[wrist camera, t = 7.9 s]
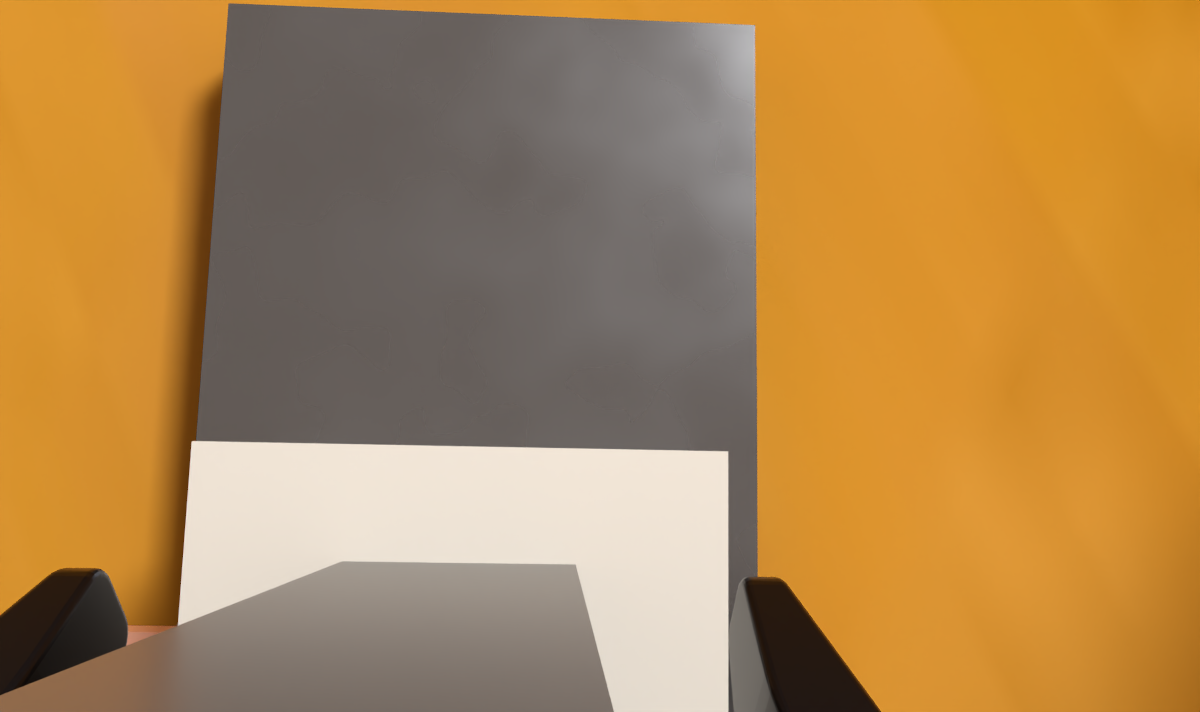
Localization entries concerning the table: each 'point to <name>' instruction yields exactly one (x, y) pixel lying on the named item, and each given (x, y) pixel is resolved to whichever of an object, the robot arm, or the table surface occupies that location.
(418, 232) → the nutcracker bench
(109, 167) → the table surface
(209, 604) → the press carriage
